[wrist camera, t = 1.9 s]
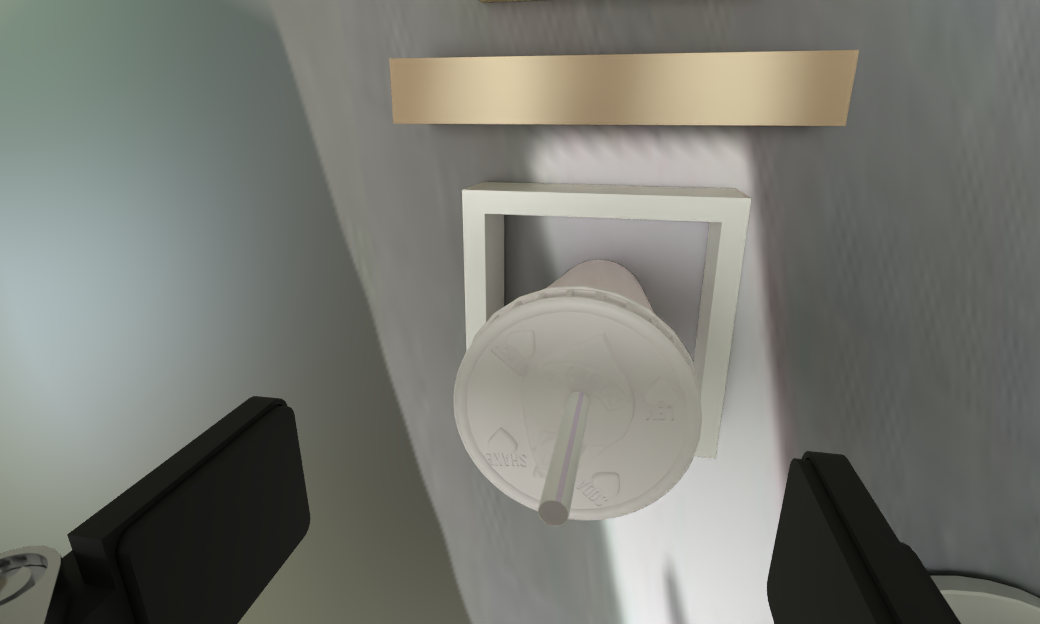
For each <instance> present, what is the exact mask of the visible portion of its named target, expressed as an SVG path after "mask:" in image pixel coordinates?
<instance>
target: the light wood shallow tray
mask: <svg viewBox="0 0 1040 624" xmlns="http://www.w3.org/2000/svg"><path fill="white" fill-rule="evenodd" d="M479 1H481V2H482V3H485V2H512V1H538V0H479Z"/></svg>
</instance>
